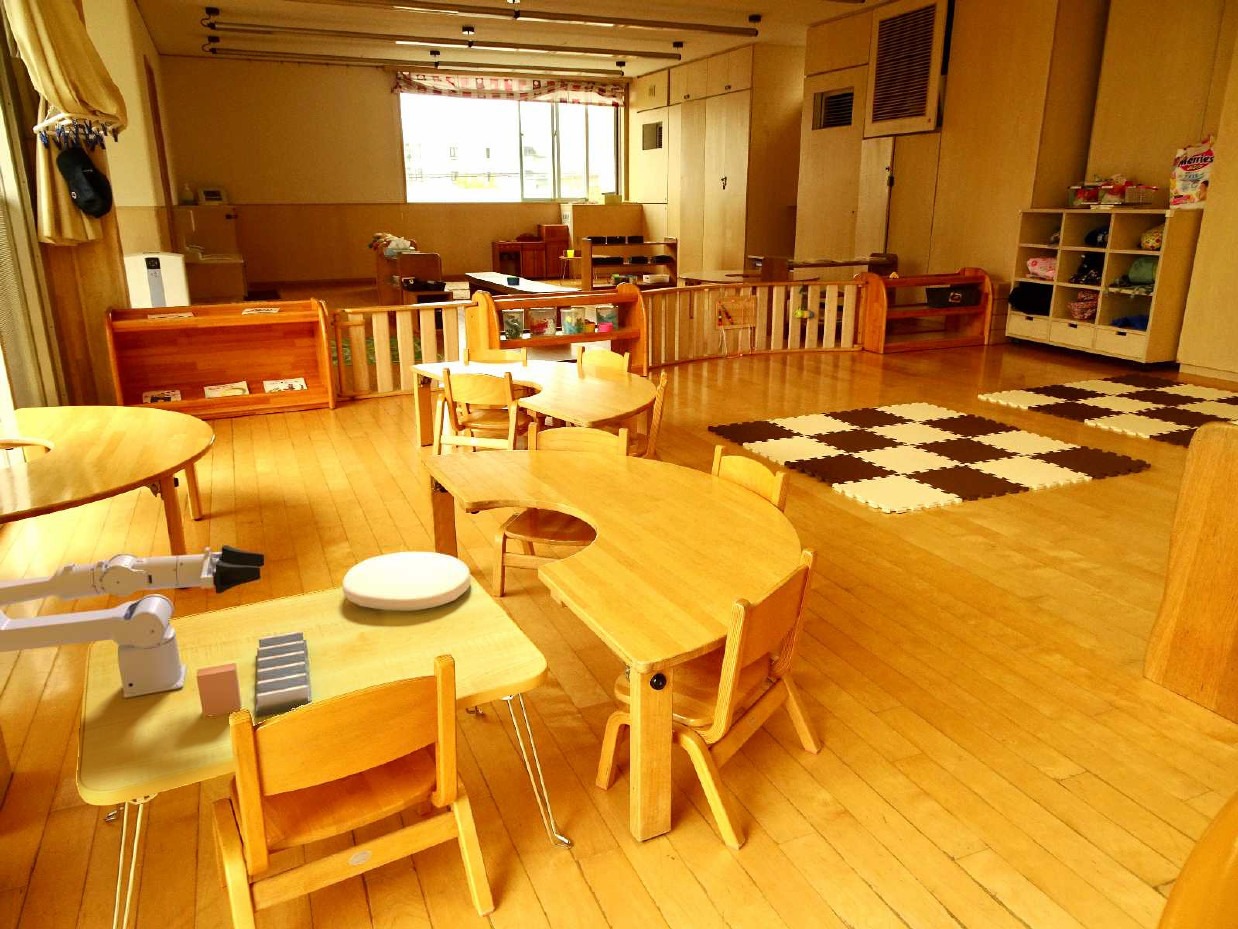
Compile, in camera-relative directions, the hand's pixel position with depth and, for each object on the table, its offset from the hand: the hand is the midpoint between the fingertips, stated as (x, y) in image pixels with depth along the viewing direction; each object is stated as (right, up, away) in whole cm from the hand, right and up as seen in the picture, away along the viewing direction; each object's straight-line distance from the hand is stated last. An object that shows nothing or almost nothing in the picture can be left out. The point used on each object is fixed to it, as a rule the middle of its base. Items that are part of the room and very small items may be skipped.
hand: (262, 566), depth 155 cm
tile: (-3, -24, -8) cm, 26 cm away
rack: (+3, -21, +2) cm, 21 cm away
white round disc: (+18, -10, +37) cm, 42 cm away
